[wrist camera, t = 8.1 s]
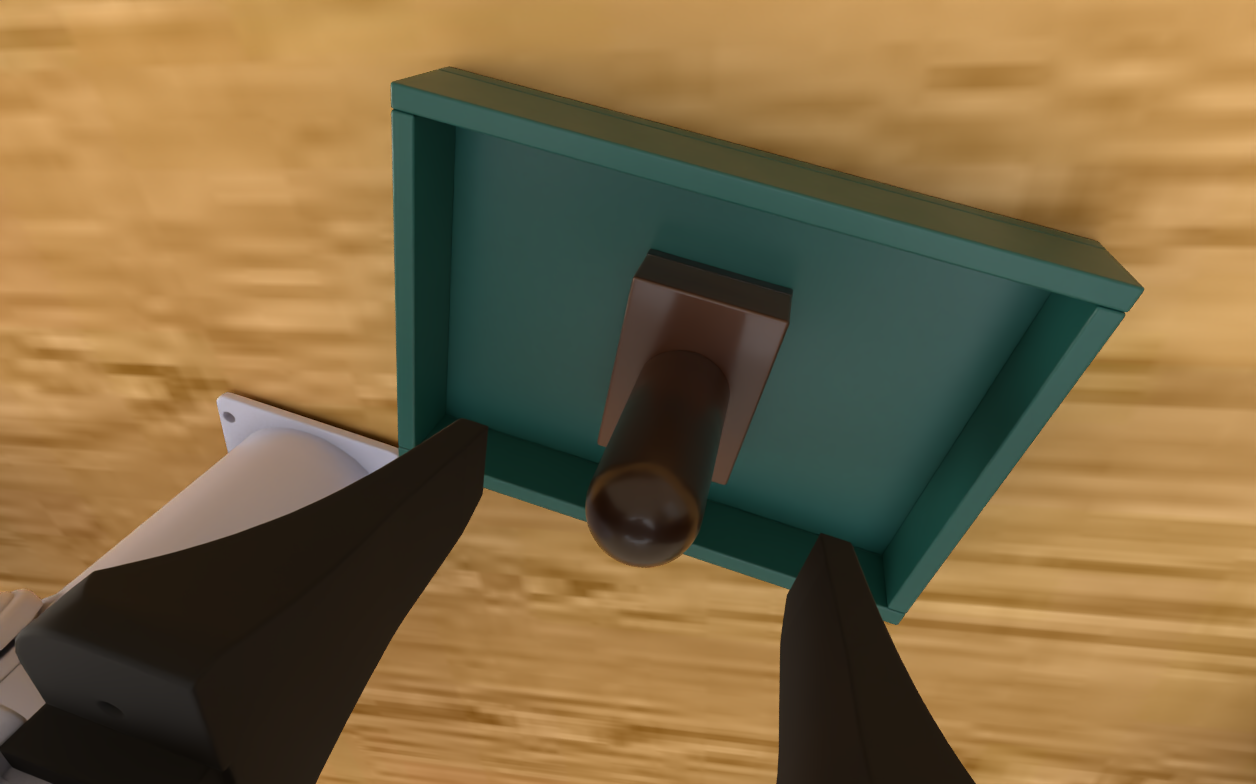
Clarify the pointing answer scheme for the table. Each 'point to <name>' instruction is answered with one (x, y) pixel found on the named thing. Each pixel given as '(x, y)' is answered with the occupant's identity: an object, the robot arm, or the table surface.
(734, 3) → the table surface
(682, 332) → the stamp
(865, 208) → the tray
